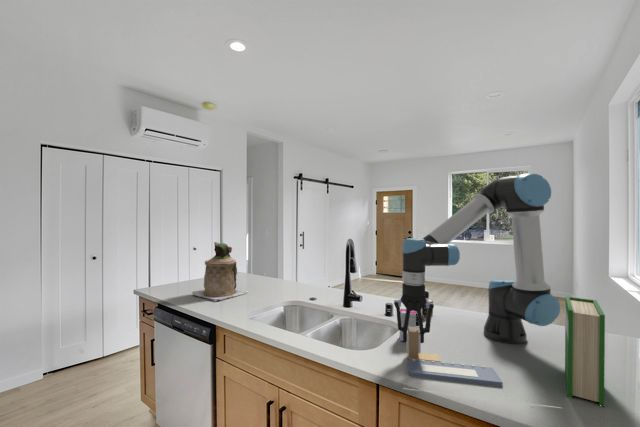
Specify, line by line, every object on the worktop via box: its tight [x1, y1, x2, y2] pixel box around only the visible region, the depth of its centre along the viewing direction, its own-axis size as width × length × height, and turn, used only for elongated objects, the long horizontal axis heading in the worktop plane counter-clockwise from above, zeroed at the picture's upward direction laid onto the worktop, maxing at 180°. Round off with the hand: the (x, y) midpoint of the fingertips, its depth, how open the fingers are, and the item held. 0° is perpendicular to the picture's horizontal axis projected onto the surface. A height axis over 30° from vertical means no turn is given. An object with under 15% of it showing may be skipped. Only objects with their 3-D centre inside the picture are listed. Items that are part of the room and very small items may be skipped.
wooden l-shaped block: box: [407, 326, 442, 362], centre depth 108 cm, size 10×5×10 cm, turn 77°
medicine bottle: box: [415, 289, 434, 318], centre depth 157 cm, size 7×7×12 cm
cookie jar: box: [191, 241, 249, 302], centre depth 192 cm, size 25×25×32 cm
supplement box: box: [399, 308, 417, 343], centre depth 125 cm, size 6×6×12 cm
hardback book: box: [564, 296, 606, 407], centre depth 91 cm, size 18×7×24 cm, turn 144°
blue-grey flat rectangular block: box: [407, 358, 503, 388], centre depth 98 cm, size 26×9×2 cm, turn 77°
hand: (413, 351), depth 109 cm, fingers closed on wooden l-shaped block, 3 cm apart
